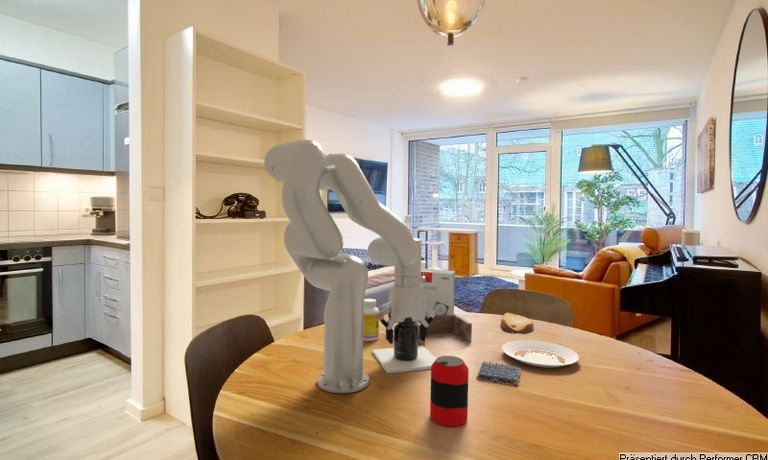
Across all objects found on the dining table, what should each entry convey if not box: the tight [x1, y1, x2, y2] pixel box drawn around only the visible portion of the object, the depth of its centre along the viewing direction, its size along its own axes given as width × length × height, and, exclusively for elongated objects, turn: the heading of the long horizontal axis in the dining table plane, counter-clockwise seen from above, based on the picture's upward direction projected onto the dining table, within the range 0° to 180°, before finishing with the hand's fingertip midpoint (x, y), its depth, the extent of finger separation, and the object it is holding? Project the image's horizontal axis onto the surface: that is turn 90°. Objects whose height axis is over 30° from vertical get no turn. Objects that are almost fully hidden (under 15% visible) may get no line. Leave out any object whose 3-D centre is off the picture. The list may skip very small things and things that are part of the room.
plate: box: [501, 339, 580, 369], centre depth 119 cm, size 21×21×2 cm
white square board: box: [371, 345, 438, 374], centre depth 116 cm, size 16×16×1 cm
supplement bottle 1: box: [363, 298, 380, 342], centre depth 134 cm, size 7×7×13 cm
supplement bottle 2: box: [393, 317, 419, 361], centre depth 116 cm, size 7×7×12 cm
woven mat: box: [475, 360, 522, 386], centre depth 106 cm, size 10×11×2 cm
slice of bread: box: [500, 312, 535, 334], centre depth 153 cm, size 18×18×4 cm
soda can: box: [429, 355, 469, 428], centre depth 84 cm, size 8×8×12 cm
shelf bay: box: [414, 313, 473, 347], centre depth 136 cm, size 12×17×6 cm
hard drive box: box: [421, 268, 456, 316], centre depth 154 cm, size 16×8×20 cm, turn 73°
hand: (406, 341), depth 116 cm, fingers open, 9 cm apart
